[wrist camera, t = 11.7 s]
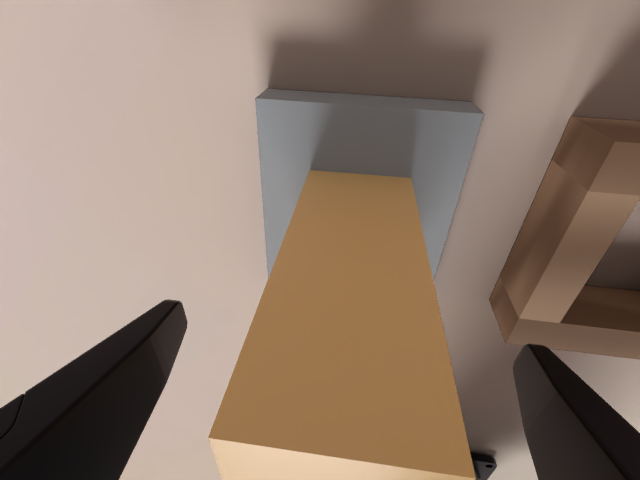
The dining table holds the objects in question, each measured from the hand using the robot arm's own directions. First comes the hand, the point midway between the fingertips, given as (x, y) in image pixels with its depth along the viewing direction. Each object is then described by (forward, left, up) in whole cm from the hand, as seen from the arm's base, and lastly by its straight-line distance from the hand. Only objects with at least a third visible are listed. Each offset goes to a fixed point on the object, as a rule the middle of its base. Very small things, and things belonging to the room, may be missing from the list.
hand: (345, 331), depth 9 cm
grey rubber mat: (0, 0, -6) cm, 6 cm away
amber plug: (0, 0, -5) cm, 5 cm away
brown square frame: (0, -10, -6) cm, 12 cm away
